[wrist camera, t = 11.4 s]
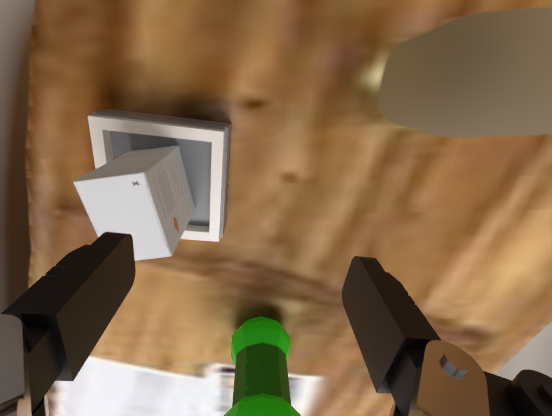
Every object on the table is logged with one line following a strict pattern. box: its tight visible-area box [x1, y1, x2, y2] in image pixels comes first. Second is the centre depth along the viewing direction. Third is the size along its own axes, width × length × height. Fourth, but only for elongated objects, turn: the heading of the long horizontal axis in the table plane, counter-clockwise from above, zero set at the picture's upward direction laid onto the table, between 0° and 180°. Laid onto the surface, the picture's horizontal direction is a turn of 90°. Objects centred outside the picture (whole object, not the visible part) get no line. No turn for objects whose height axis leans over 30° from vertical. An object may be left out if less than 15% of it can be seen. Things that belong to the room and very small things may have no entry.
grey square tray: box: [88, 109, 232, 242], centre depth 32 cm, size 14×14×6 cm
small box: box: [73, 145, 195, 261], centre depth 26 cm, size 8×6×10 cm
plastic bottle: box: [224, 316, 300, 416], centre depth 36 cm, size 10×10×25 cm
